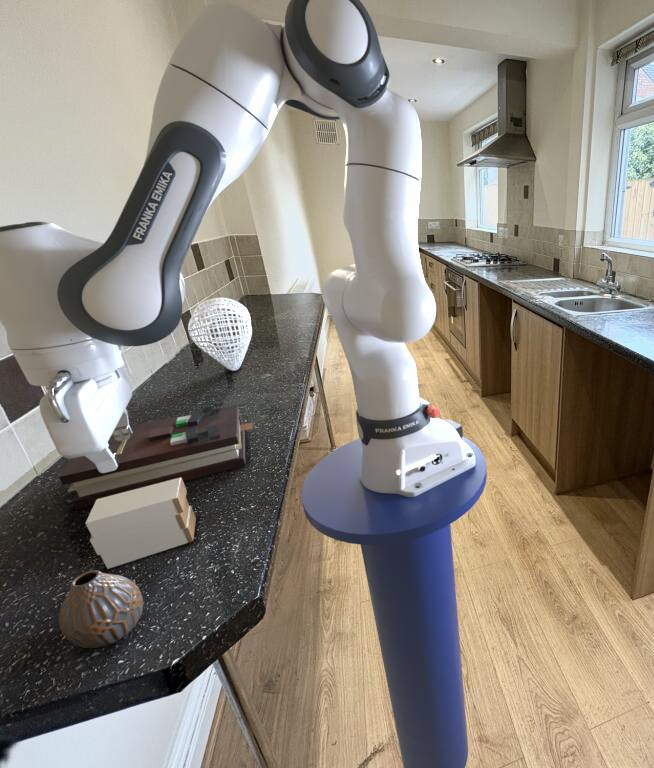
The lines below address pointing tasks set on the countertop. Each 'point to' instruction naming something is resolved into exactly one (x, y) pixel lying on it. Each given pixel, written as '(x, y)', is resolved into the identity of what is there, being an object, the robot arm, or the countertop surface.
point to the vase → (100, 609)
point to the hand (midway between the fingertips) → (118, 452)
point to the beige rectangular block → (146, 538)
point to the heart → (199, 335)
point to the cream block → (136, 507)
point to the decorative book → (163, 454)
